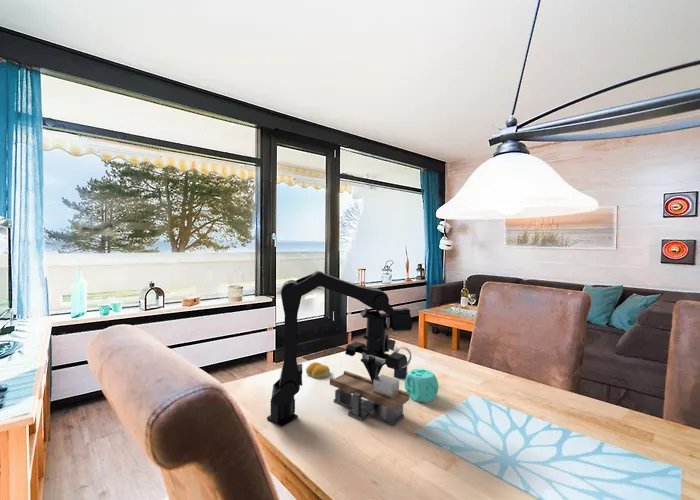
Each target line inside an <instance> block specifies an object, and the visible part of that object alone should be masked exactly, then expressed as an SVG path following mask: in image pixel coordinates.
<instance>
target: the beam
mask: <svg viewBox="0 0 700 500" xmlns="http://www.w3.org/2000/svg"><path fill="white" fill-rule="evenodd" d="M329 385H330V386H332V387H334V388H337V389H342V390H345V391H347V392H350V393H352V395H353V394H354V393H355V392H357V393H360V394H362V396H361V399H364V400H370V401H373V402H375V403H378V404H380V405H383V407H385V408H387V407H388V408H390V409H393V410H395V411H396V410H397V409H398V408H399V407H401V406H402V405H403V406H404V405H405V404H406V403H407V402H408V401H410V393H408V392H406V390H402V389H399V395H398V396H397V397H395V398H394V399H393V400H391V399H388V398H385V397H383V396H380V395H377V394H375V393H373V382H372V380H371V378H367V377H365V376H362V375H359V374H356V373H353V372H350V371H348V370H345V371H343V374H341V375H339V376H337V377H335V378H334V377H330V378H329Z"/></svg>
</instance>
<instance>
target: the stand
mask: <svg viewBox="0 0 700 500" xmlns="http://www.w3.org/2000/svg"><path fill="white" fill-rule="evenodd" d="M361 396H362V394H360V393H357V392H355V393H354V394H352V393H350V392H347V391H345V390H342V389H339V388H337V389H335V390H334V399H333V403H336V404H338V405H341V406H343V407H346V408H349V409H351V410H350V411H348V412H347V415H348V417H352V418H354V419H356V420H358V421H361V422H363V421H364V420H365V419H367V418H369V417H370V418H373V419H376V420H378V421H381V422H383V423H385V424H388V425H391V426H392V427H395V426H396V425H397V424H398V423H400V422H401V421H402V420H403V419H404V418H405V414H404V404H403V405H402V406H401V407H399V408H398V409H397V410H396V411H395V410H393V409H390V408H388V407H385V406H383V405H380V404H378V403H375V402H373V401H370V400H367V399H365V398H362V397H361Z"/></svg>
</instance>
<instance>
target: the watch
mask: <svg viewBox="0 0 700 500" xmlns="http://www.w3.org/2000/svg"><path fill="white" fill-rule="evenodd" d="M400 349H403V350H405V351H406V352H407V353H408V354H409V357H408V359H407V365H405V366H403V367H402V368H400V369H399V370H395V369H393V378H395V377H396V378H395V379H404V380H405V378H406V376H407V374H408V367H409V364H410V363H411V360H412V351H411V350H410V349H409V348H408V346H406V345H405V346H404V345H398V346H395V347H394V351H392V352H391V354H393V353H394V352H396V353H399V352H400Z"/></svg>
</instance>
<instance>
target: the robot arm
mask: <svg viewBox="0 0 700 500" xmlns="http://www.w3.org/2000/svg"><path fill="white" fill-rule="evenodd" d="M319 287H321V288H324V289H327V290H329V291H331V292H332V291H333V292H335V293H338V294H341V295H343V296H347V297H349V298H352V299H355V300H357V301H359V302H361V303H363V304H364V305H366V306H367V307H369V308H371V309H372V310H369V309H368V308H367V307H365V308H364V309H363V310H362V311H361V312H360V316H361V318H365V319H366V334H363V339H365V343H364V342H359V341H354V342H352V343H349V344H346V347H345V350H344V352H345V355H347V356H349V357H354V356H355V355H356V353H358V354H361V355H362V356H361V359H360V362H362V364H363V365H364V367H365V369H366V371H367V373H368V376H369V379H371V380H372V382H374V379H375V378H377V377H378V376H380V373H381V370H382V368H383V367H384V366H386V367H387V368H388V369H392V370H394V369H395V370H399V369H400V368H402V367H403V366H405V365H407V361H408V357H407V356H406V354H402V353H400V352H398V353H396V352H394V353H393V354H392V353H391V354H390V353H388V352H390V351H392V352H393V351H394V349H395V348H396V340H394V339H391V338H389V334H388V333H387V329H390V332H411V331H412V329H413V320H412V315H411V309H409V308H408V307H407V308H406V307H404V308H394V307H392V306H391V304H390V298H389V296H388V294H387V293H386V292H384V291H383V290H382V289H380V288H376V287H371V286H362V285H358V284H354V283H352V282H349V281H346V280H343V279H341V278H338V277H334V276H333V275H329V274H326V273H324V272H323V271H320V270H317V271H314V272H313V273H311V274H308V275H306V276H303V277H300V278H299V279H296V280H294V279H290V280H286V281H285V282H284V283H283V284H282V286H281V290H280V296H281V298H280V299H281V303H282V309H283V313H284V326H283V327H284V333H283V334H284V335H283V336H284V337H283V339H284V340H283V341H284V342H283V361H282V367H281V370H280V374H279V375H280V377H279V379H278V380H277V381H276V382H274V384H273V385H272V391H271V399H270V415H268V416H266V420H268V421H270V422H272V423H274V424H276V425H277V426H279V427H284V426H286V425H287V424H289V423H291V422H292V421H294V420H296V419H297V418H299V416H298V414H296V413H295V412H296V399H295V396H296V395H297V394H298V393H299V392H300V388H301V387H302V386H303V364H302V363H299V364H298V360H297V354H298V351H297V349H298V347H297V345H298V314H299V310H300V304H301V301H302V300H301V299H302V296H304V295H306V294H308V293H310V292H312V291H314V290H316V289H317V288H319Z"/></svg>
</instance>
